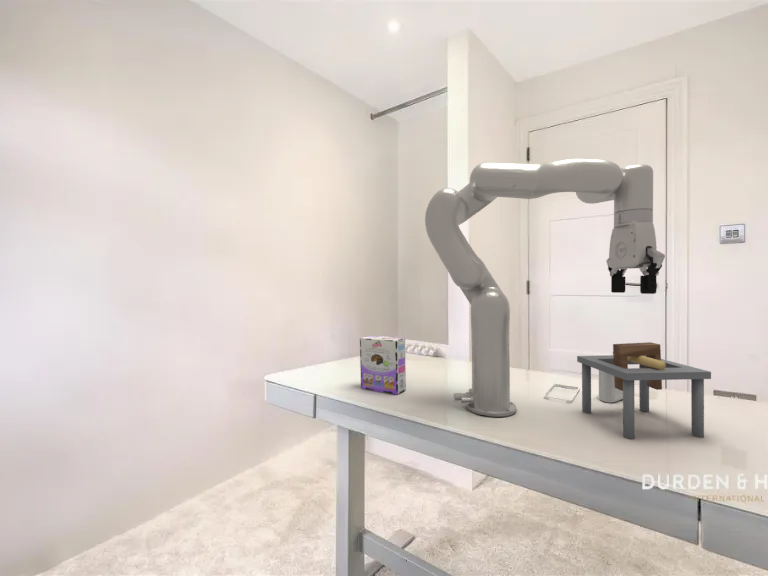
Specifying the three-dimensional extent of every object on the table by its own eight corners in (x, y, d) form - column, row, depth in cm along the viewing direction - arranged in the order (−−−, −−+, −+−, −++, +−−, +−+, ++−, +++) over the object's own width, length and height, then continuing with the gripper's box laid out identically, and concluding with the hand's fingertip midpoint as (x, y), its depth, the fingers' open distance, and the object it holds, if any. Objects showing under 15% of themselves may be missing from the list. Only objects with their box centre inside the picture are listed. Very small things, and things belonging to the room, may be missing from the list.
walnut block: (662, 389, 81) (660, 344, 81) (623, 391, 81) (621, 346, 81) (652, 385, 84) (650, 342, 84) (614, 387, 84) (612, 344, 84)
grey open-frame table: (711, 438, 74) (711, 362, 74) (626, 440, 74) (626, 363, 74) (645, 408, 92) (645, 347, 92) (577, 409, 92) (577, 348, 92)
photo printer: (613, 393, 105) (613, 352, 105) (630, 397, 101) (630, 354, 101) (596, 400, 99) (596, 356, 99) (613, 404, 95) (612, 358, 95)
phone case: (554, 387, 113) (542, 400, 101) (554, 383, 113) (542, 395, 101) (580, 391, 109) (571, 405, 97) (580, 387, 109) (571, 400, 97)
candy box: (406, 390, 110) (406, 337, 110) (397, 395, 105) (396, 340, 105) (370, 384, 118) (369, 334, 118) (359, 388, 113) (359, 337, 113)
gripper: (594, 226, 92) (594, 292, 92) (644, 212, 74) (644, 294, 75) (623, 226, 92) (622, 292, 92) (680, 212, 74) (679, 294, 75)
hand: (632, 293), depth 83 cm, fingers open, 9 cm apart
